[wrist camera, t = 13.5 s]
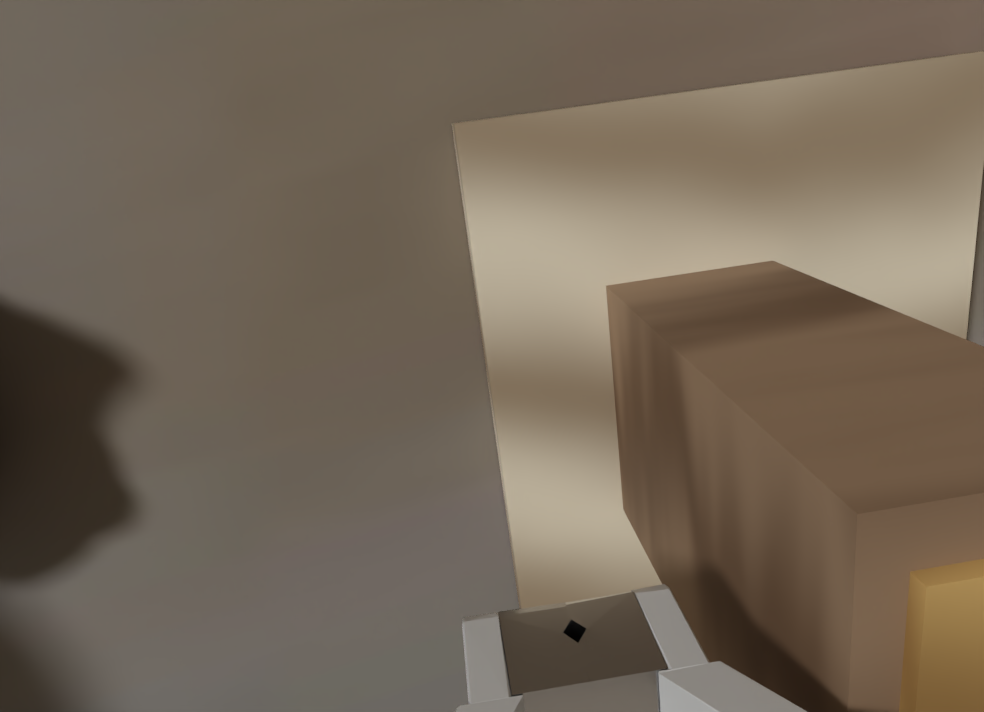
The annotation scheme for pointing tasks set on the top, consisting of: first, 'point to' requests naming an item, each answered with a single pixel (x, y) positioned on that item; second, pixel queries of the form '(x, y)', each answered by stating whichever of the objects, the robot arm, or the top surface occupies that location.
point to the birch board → (692, 256)
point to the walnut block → (807, 483)
